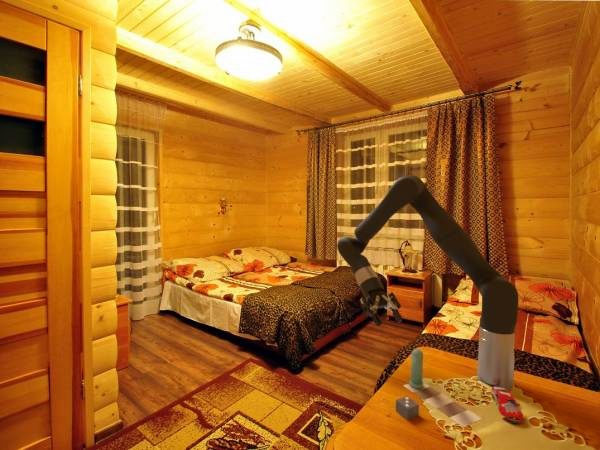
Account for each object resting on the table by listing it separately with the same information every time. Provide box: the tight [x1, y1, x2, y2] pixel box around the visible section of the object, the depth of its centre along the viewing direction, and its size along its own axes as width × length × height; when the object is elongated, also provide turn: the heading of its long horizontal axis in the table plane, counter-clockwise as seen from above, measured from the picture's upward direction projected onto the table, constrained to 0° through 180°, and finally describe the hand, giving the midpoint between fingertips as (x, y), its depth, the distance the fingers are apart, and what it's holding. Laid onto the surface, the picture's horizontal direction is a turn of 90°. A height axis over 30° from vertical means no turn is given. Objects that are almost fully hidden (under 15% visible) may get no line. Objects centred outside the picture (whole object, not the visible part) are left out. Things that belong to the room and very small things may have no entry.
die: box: [395, 395, 420, 421], centre depth 80 cm, size 4×4×4 cm
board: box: [403, 381, 483, 428], centre depth 85 cm, size 8×20×1 cm, turn 27°
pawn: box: [409, 348, 424, 391], centre depth 92 cm, size 4×4×11 cm
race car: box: [490, 387, 525, 424], centre depth 84 cm, size 13×5×4 cm, turn 160°
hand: (390, 323), depth 102 cm, fingers open, 8 cm apart
